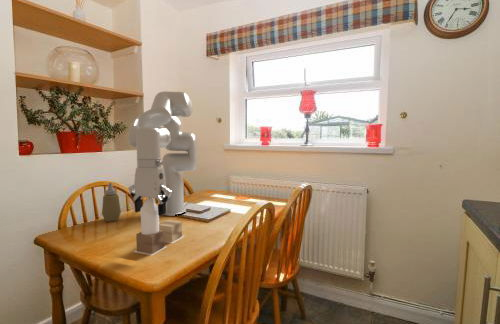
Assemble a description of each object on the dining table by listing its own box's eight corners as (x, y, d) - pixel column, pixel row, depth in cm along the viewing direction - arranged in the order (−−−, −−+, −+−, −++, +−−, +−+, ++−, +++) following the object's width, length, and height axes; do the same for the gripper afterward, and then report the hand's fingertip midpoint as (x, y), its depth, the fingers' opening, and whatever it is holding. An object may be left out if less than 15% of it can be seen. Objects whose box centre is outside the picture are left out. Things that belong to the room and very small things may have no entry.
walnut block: (149, 244, 101) (149, 228, 101) (164, 246, 99) (164, 230, 99) (136, 251, 95) (136, 234, 95) (152, 254, 93) (151, 236, 93)
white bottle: (142, 200, 92) (138, 197, 97) (142, 236, 93) (139, 231, 98) (160, 198, 95) (156, 195, 100) (161, 232, 96) (157, 228, 101)
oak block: (168, 234, 112) (167, 219, 111) (182, 236, 110) (181, 221, 109) (157, 240, 106) (157, 224, 105) (172, 242, 103) (171, 226, 103)
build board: (163, 234, 115) (163, 231, 115) (193, 239, 111) (193, 235, 110) (123, 255, 95) (122, 252, 95) (157, 262, 90) (157, 258, 90)
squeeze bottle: (102, 218, 136) (101, 182, 134) (121, 217, 139) (120, 181, 137) (101, 223, 128) (99, 184, 127) (120, 221, 131) (119, 183, 130)
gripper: (177, 163, 95) (178, 212, 97) (136, 161, 101) (137, 207, 103) (163, 166, 88) (164, 219, 90) (120, 163, 94) (122, 213, 96)
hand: (150, 212), depth 97 cm, fingers open, 9 cm apart
